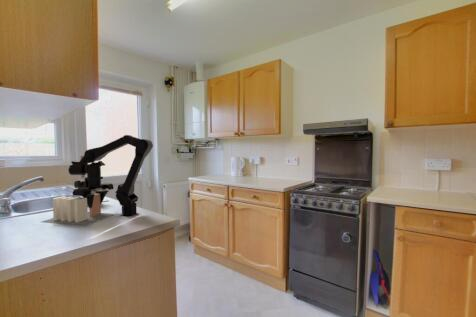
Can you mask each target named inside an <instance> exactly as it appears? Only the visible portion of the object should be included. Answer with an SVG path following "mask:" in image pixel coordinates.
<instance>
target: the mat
mask: <svg viewBox="0 0 476 317" xmlns="http://www.w3.org/2000/svg"><path fill="white" fill-rule="evenodd" d="M87 215H88V219H86V220H83V221H80V222H75V220H74V221H71V222H69V221H68V220H65V221H61V219H59V220H54V217H52V218H48V219H45V220H42V221H41V223H45V224H48V223H49V224H55V225H56V224H58V225H64V226H65V225H67V226H78V227H86V226H90V225H91V224H94V223H97V222H100V221H102V220H104V219H106V218H110V217H112V216H115V215H116V213H109V212H108V213H107V212H101V214H98V215H95V216H90V211H87Z"/></svg>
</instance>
